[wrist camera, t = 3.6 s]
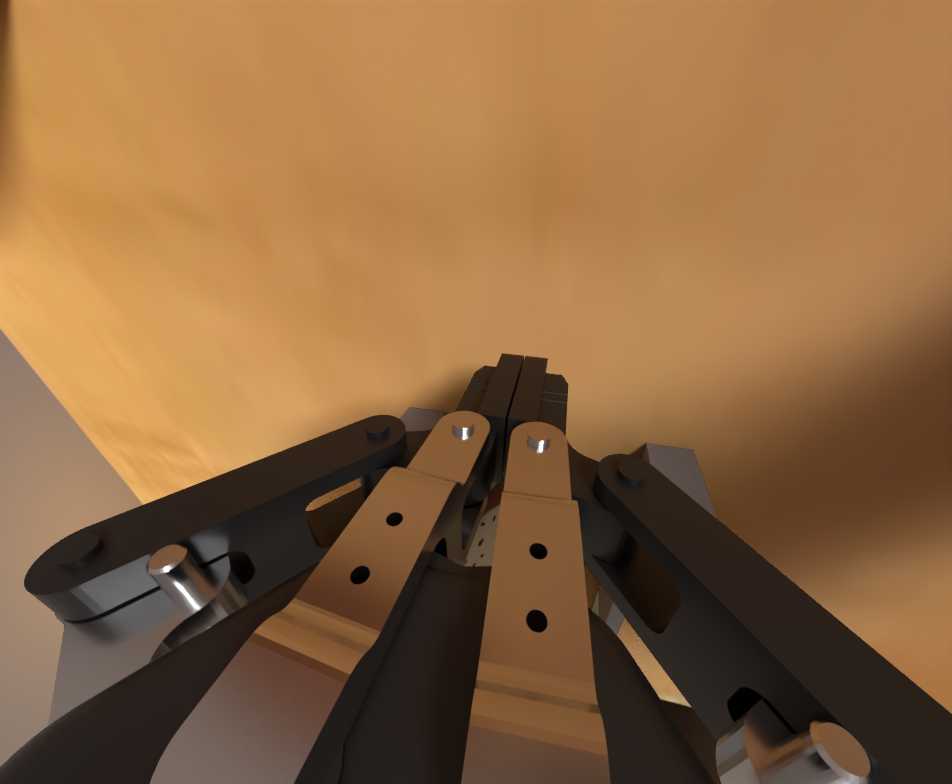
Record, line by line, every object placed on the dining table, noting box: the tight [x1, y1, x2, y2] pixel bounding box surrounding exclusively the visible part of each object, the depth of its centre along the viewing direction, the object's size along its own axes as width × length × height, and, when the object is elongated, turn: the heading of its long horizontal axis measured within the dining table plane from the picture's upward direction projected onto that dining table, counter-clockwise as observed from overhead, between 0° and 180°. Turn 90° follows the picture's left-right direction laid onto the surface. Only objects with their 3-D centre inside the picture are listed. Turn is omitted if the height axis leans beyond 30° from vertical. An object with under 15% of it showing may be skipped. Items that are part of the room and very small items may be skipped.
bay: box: [401, 407, 718, 635], centre depth 19 cm, size 14×12×5 cm
